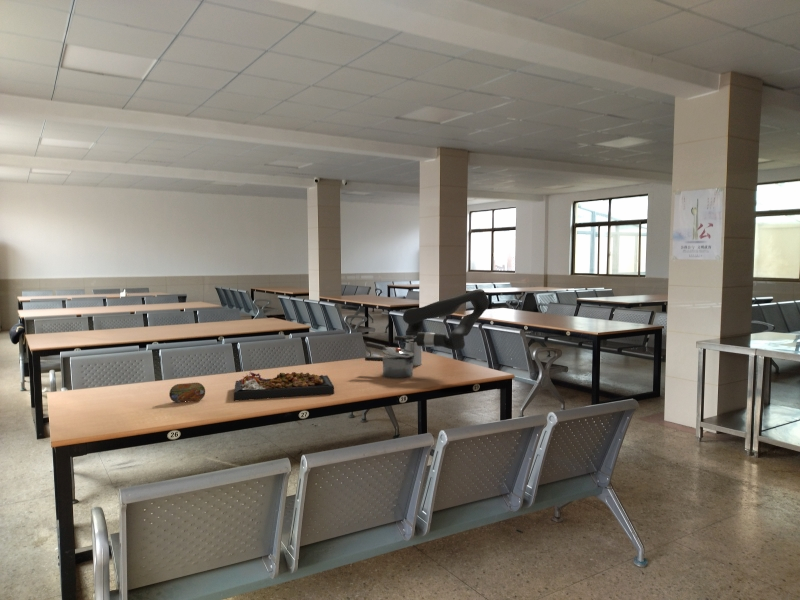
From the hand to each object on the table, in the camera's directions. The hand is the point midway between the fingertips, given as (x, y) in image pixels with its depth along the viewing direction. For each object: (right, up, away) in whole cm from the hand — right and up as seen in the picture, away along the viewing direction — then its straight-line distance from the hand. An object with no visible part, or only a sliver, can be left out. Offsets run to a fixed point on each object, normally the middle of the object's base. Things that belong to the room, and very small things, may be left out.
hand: (395, 338), depth 308 cm
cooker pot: (-3, -20, +3) cm, 20 cm away
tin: (-92, -25, -50) cm, 108 cm away
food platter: (-53, -24, -32) cm, 67 cm away
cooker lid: (-3, -8, +2) cm, 8 cm away
